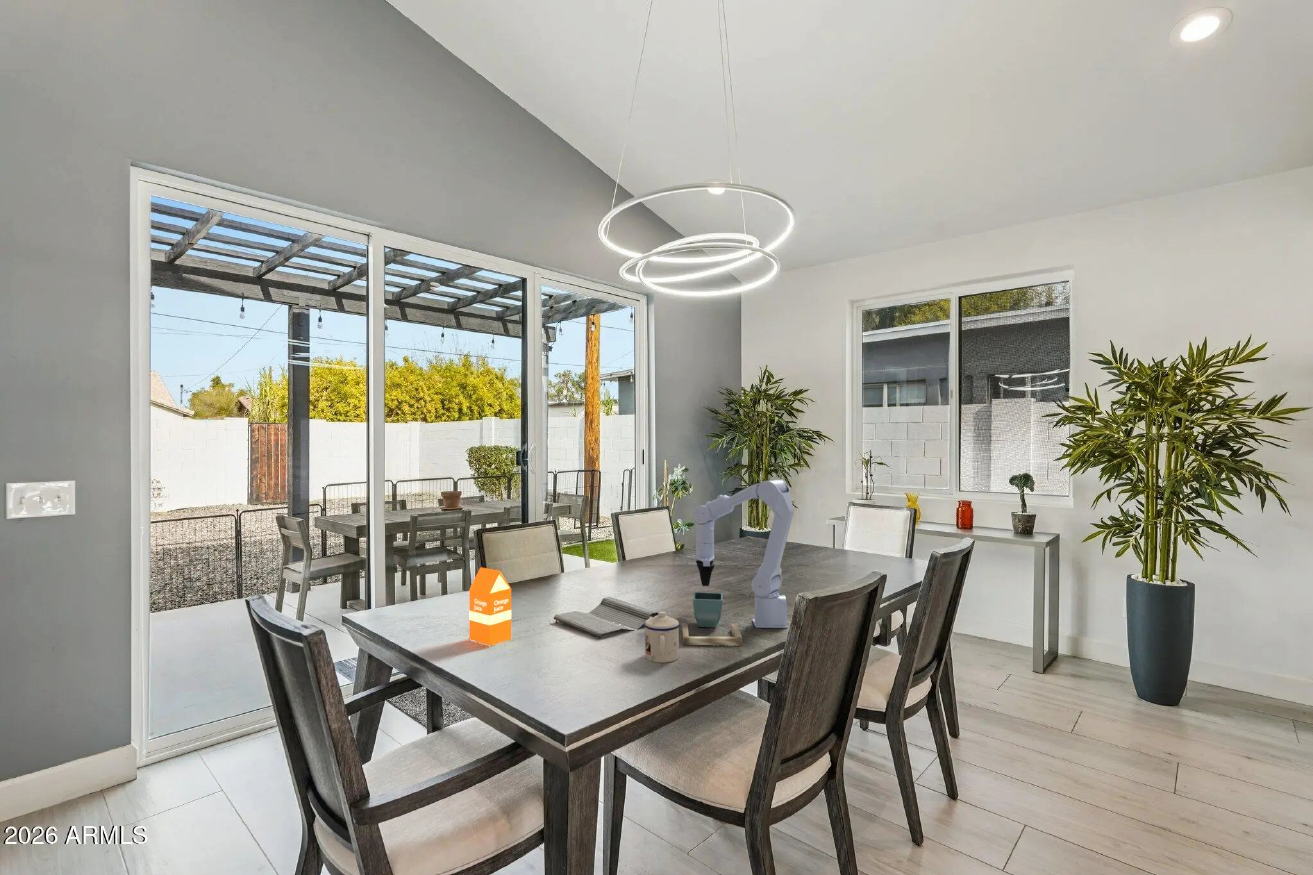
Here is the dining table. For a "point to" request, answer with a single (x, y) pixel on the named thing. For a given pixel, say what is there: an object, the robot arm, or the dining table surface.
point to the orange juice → (489, 608)
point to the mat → (608, 617)
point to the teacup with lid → (661, 638)
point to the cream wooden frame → (713, 638)
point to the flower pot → (707, 608)
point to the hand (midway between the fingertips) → (704, 584)
